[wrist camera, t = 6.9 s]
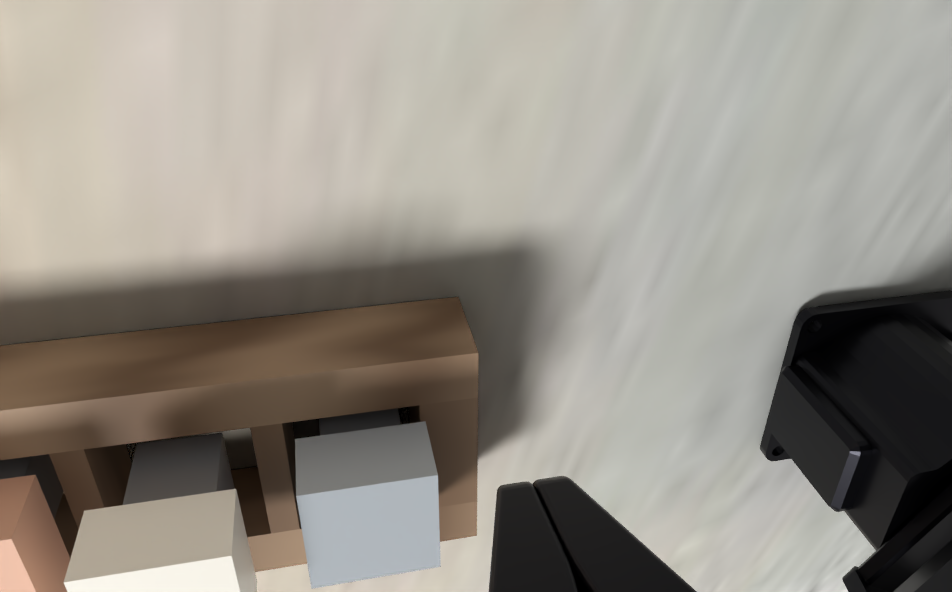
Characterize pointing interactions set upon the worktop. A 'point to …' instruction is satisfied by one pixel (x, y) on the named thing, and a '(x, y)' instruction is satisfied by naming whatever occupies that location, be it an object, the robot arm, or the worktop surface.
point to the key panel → (245, 404)
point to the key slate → (367, 498)
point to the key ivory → (168, 526)
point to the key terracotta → (30, 527)
